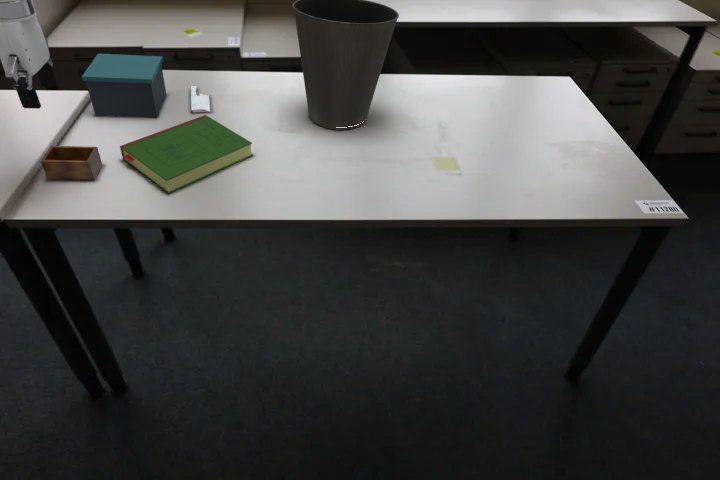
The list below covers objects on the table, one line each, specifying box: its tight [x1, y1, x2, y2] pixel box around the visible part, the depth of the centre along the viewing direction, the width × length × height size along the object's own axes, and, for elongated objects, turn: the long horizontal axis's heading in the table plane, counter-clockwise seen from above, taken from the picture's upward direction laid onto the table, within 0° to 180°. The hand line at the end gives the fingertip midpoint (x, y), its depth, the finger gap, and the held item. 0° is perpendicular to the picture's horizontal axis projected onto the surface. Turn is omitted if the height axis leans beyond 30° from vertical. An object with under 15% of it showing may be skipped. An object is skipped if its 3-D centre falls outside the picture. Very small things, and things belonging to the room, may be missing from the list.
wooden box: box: [40, 145, 103, 182], centre depth 117 cm, size 10×6×5 cm, turn 96°
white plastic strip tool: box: [190, 85, 211, 113], centre depth 149 cm, size 5×15×1 cm, turn 14°
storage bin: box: [81, 53, 167, 119], centre depth 141 cm, size 17×15×11 cm
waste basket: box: [292, 0, 400, 131], centre depth 140 cm, size 27×20×30 cm
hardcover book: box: [119, 114, 254, 194], centre depth 126 cm, size 25×19×4 cm
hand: (41, 96), depth 103 cm, fingers open, 9 cm apart
